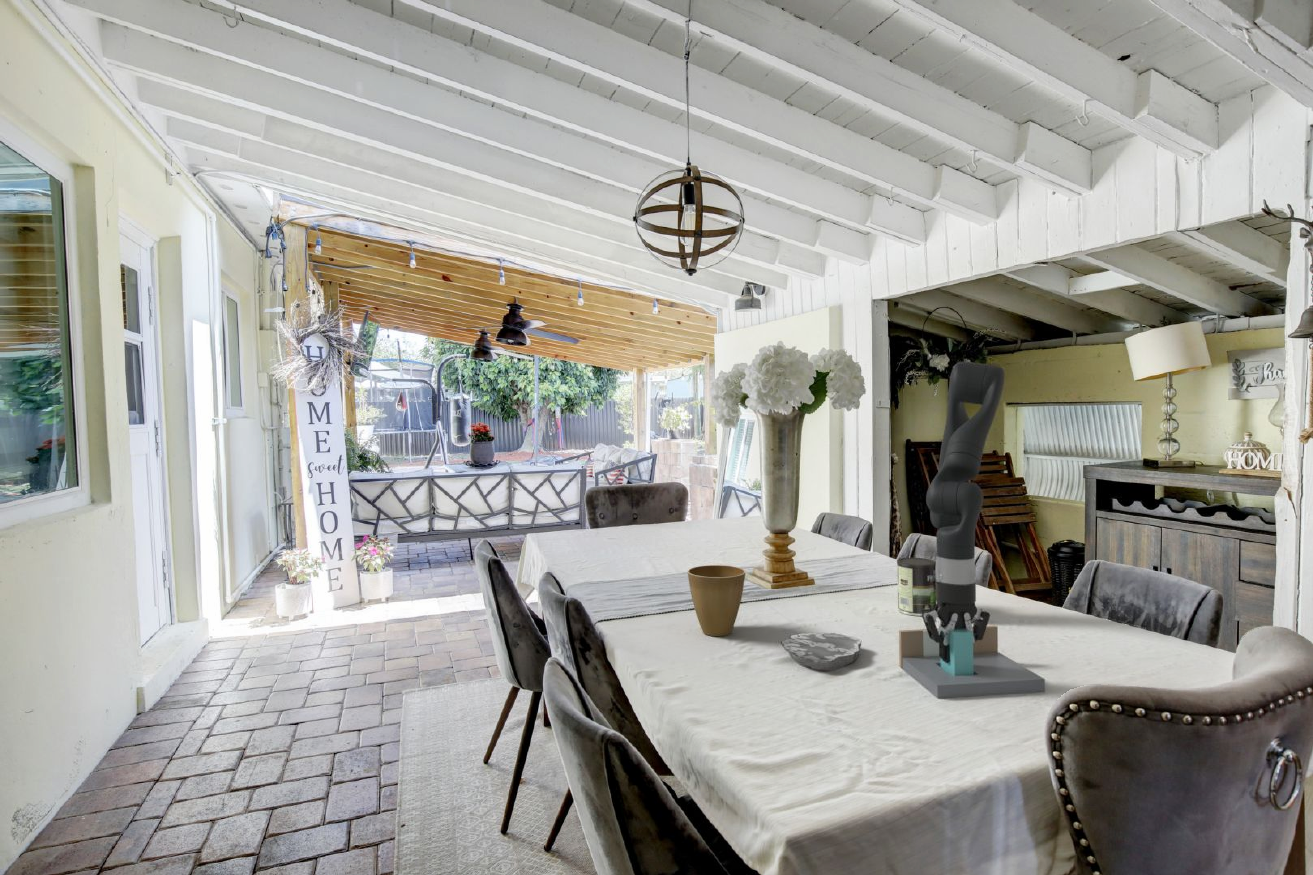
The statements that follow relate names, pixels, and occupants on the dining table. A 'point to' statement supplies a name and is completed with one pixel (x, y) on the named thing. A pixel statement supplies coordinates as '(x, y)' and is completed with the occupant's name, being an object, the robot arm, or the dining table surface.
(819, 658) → the brain slice
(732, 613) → the plant pot
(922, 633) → the socket plate
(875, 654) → the dining table surface
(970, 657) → the teal block
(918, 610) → the coffee can
